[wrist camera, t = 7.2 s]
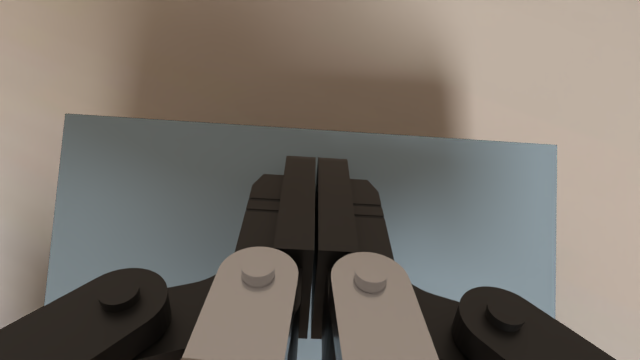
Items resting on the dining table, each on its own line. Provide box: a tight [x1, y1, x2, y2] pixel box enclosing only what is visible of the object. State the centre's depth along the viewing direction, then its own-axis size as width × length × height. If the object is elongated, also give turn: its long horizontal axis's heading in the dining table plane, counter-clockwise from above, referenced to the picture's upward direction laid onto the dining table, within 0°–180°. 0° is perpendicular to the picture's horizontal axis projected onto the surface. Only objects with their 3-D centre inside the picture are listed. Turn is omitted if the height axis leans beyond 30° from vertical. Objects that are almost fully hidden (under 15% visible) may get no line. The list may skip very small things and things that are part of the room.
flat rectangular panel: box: [44, 114, 557, 360], centre depth 12 cm, size 2×13×10 cm
